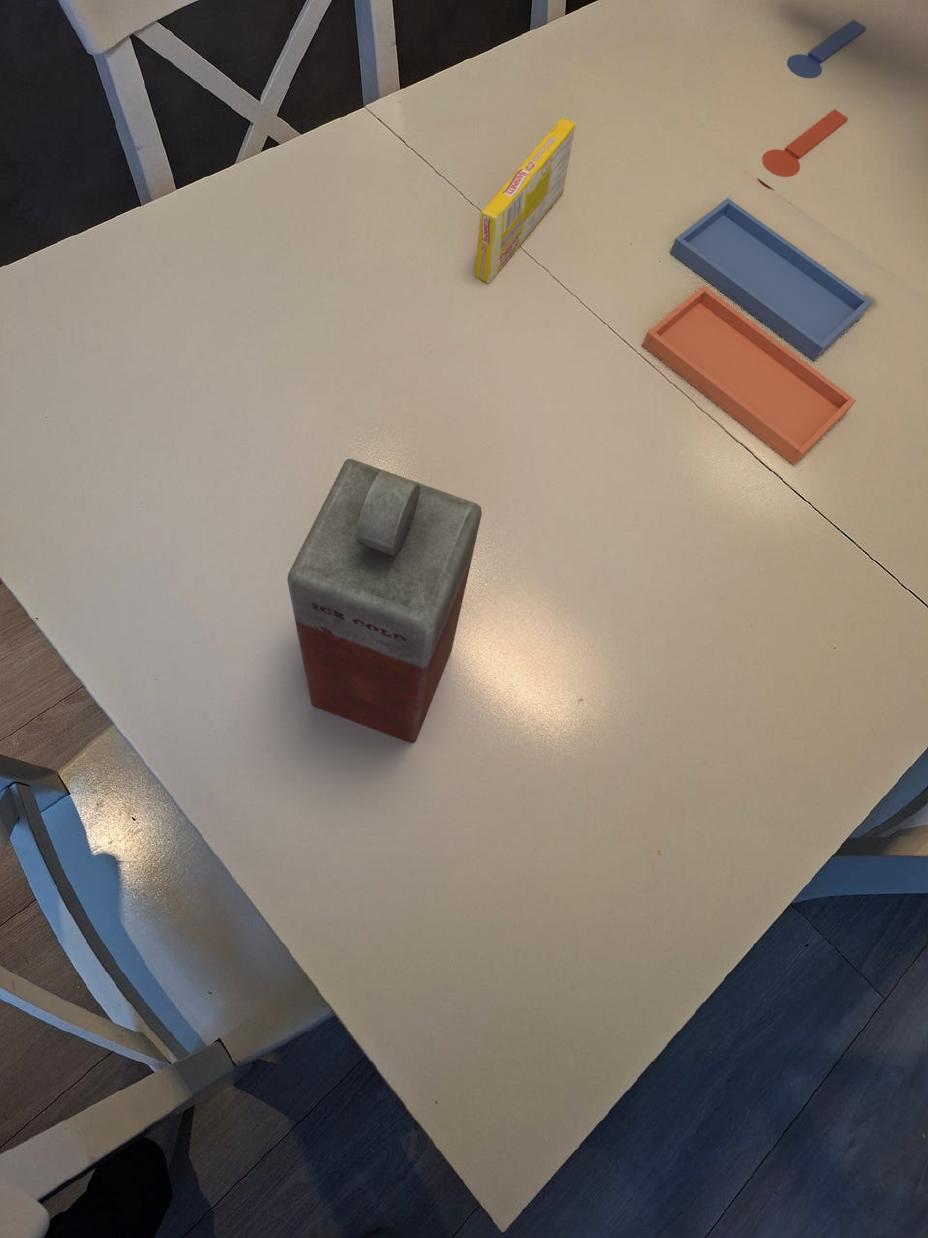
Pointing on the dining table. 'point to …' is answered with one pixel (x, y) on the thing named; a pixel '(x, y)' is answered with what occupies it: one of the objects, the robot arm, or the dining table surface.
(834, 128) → the terracotta spoon
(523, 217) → the candy box
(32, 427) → the dining table surface
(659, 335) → the terracotta tray
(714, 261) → the blue tray
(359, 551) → the red grey lidded canister
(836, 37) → the blue spoon
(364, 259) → the dining table surface
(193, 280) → the dining table surface
